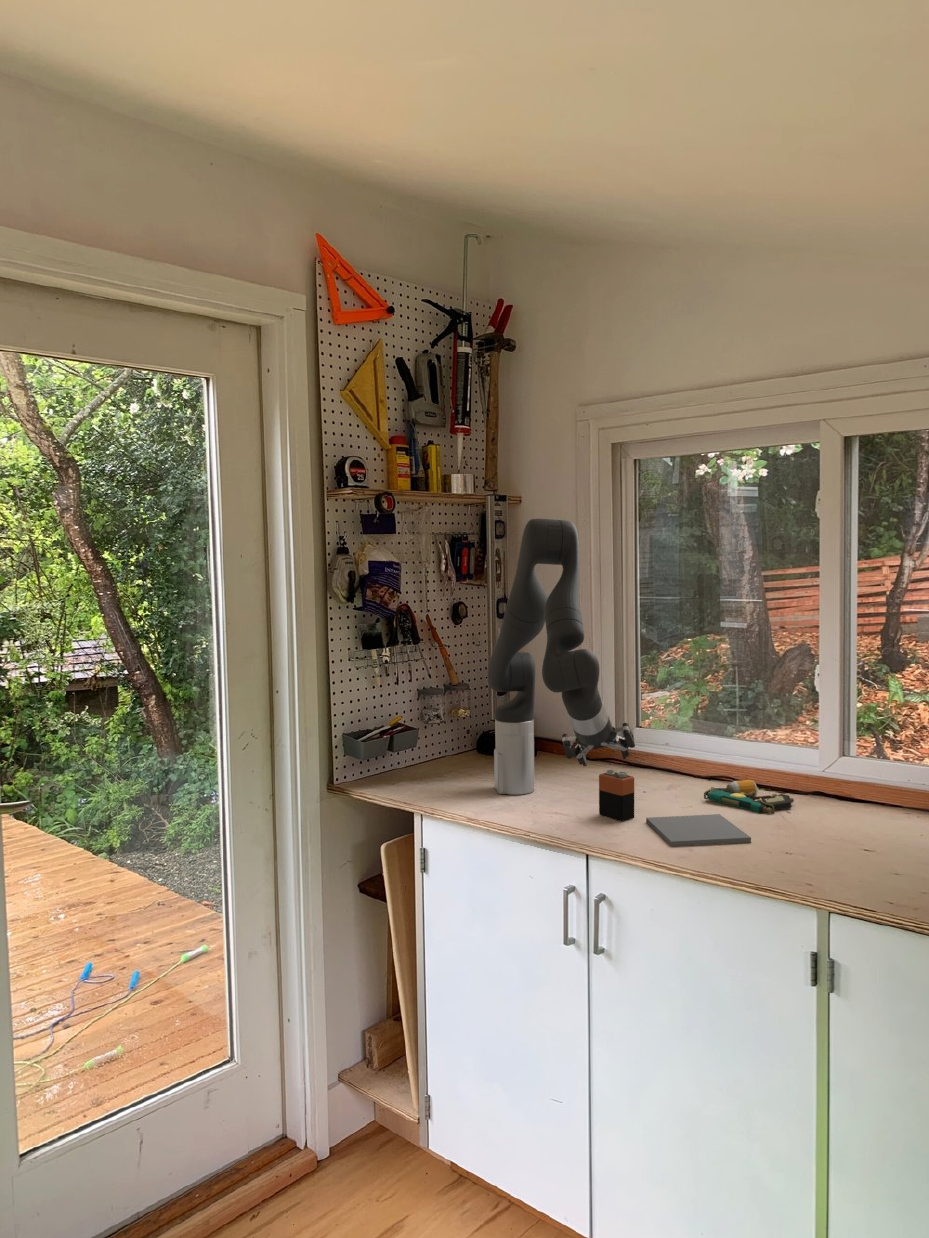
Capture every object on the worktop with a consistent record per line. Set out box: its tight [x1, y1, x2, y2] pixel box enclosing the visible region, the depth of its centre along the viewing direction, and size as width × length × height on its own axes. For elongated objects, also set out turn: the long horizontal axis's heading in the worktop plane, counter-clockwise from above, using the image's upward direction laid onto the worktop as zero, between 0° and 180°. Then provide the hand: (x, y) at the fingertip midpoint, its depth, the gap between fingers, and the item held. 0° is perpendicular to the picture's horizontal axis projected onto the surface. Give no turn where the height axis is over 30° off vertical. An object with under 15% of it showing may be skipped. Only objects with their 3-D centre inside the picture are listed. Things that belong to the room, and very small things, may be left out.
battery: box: [598, 769, 635, 822], centre depth 197 cm, size 4×7×10 cm, turn 38°
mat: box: [645, 813, 752, 847], centre depth 186 cm, size 16×16×1 cm
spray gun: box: [703, 779, 795, 814], centre depth 206 cm, size 4×17×15 cm
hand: (604, 759), depth 193 cm, fingers open, 8 cm apart
